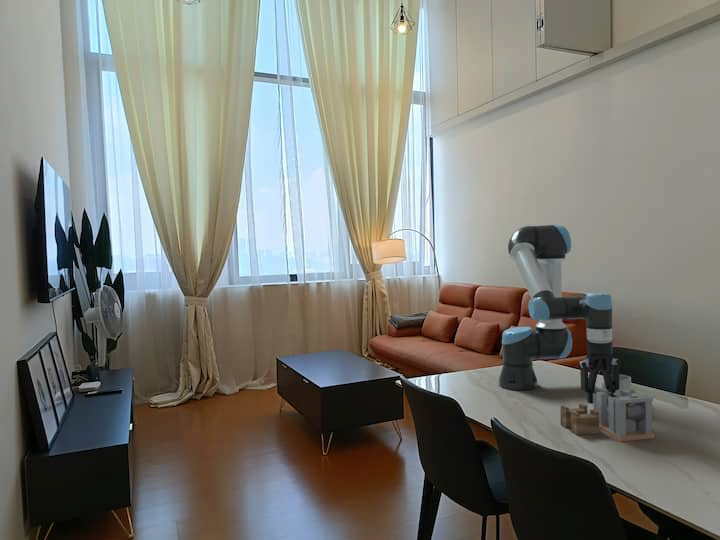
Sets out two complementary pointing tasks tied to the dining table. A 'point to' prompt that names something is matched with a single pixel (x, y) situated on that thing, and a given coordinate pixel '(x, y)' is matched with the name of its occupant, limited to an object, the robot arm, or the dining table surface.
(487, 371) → the dining table surface
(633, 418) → the tube
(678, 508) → the dining table surface
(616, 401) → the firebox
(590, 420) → the rack
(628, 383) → the cup
